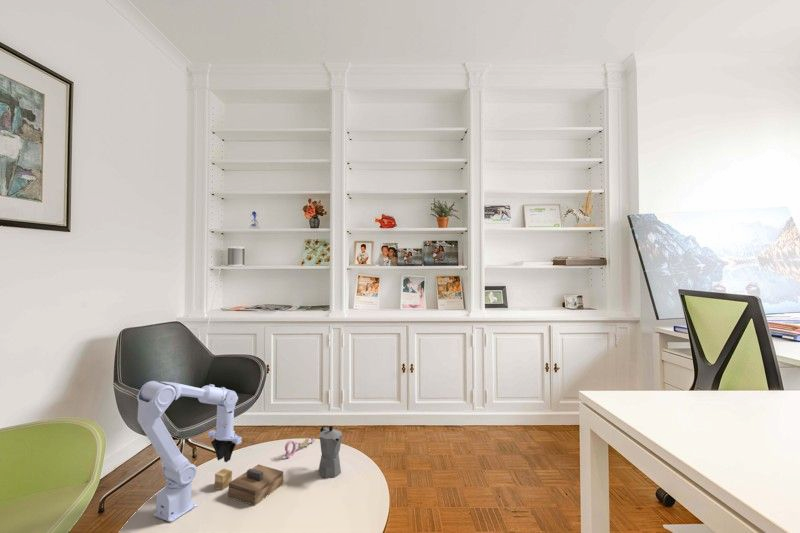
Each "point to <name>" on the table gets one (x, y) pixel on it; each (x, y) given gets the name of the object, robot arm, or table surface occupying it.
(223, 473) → the wooden block
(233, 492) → the brown shallow open box
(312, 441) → the decorative key
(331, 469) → the coffeepot
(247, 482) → the lid
